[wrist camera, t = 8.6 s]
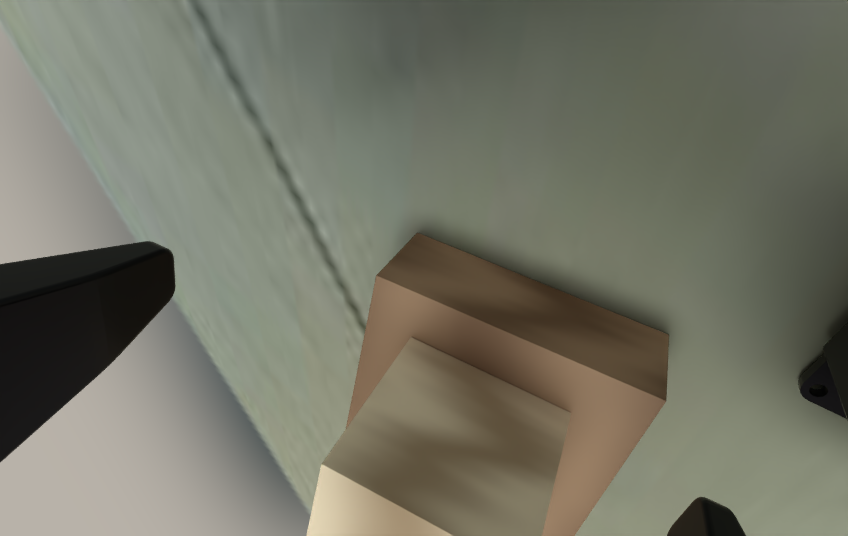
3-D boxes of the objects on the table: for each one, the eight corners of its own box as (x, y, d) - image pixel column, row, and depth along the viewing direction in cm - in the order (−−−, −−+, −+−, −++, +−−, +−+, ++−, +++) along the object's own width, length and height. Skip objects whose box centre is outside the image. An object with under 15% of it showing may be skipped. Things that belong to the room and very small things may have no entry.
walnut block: (669, 328, 20) (666, 401, 17) (570, 487, 25) (554, 564, 22) (421, 228, 22) (376, 275, 19) (381, 395, 28) (340, 453, 24)
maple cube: (571, 413, 18) (531, 578, 13) (513, 510, 22) (465, 669, 17) (411, 337, 19) (321, 464, 15) (379, 440, 23) (299, 571, 18)
